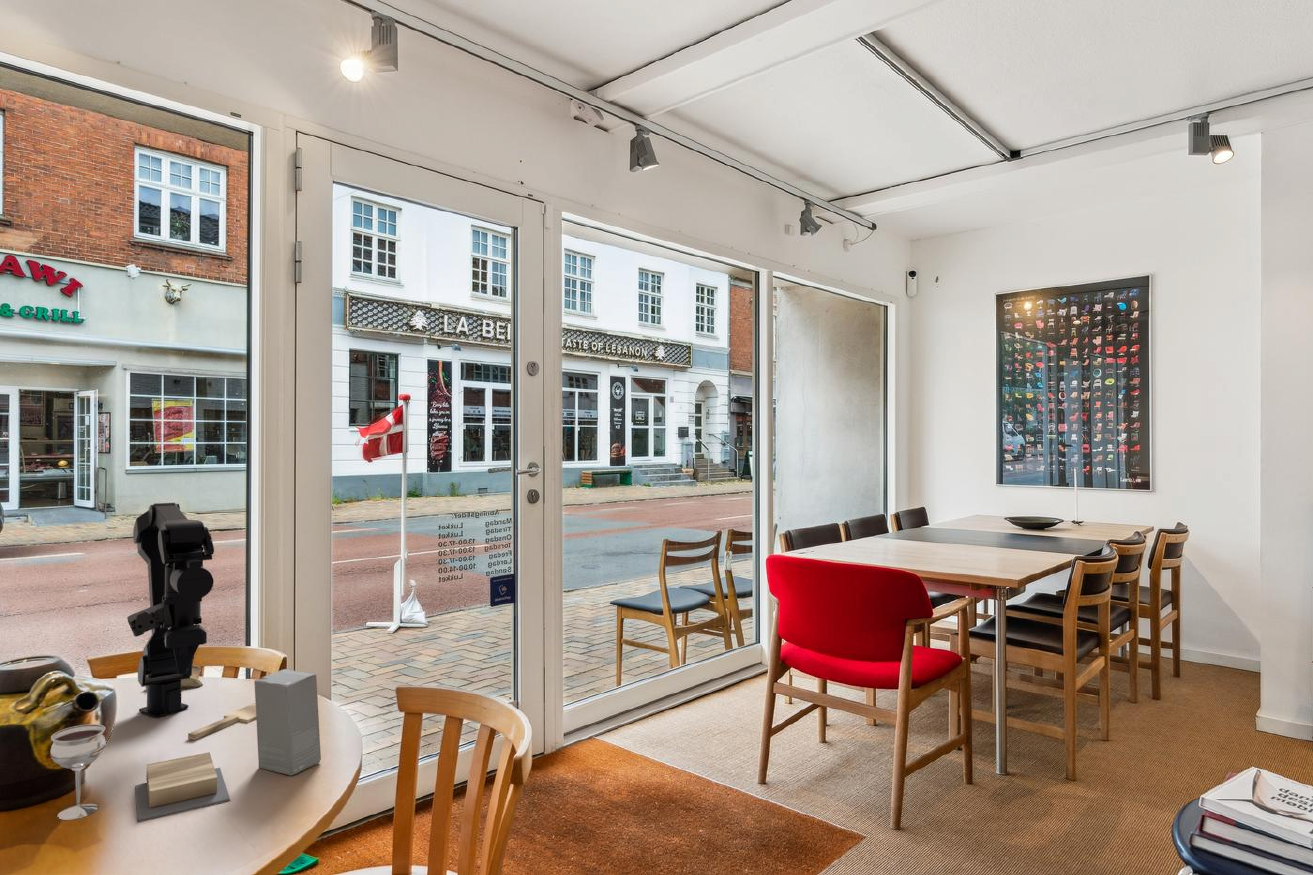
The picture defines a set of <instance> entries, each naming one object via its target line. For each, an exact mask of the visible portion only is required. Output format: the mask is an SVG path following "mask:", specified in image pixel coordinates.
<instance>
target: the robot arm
mask: <svg viewBox="0 0 1313 875" xmlns="http://www.w3.org/2000/svg"><path fill="white" fill-rule="evenodd" d="M132 535H133V538H132V539H133V544H136V547H137V548H136V549H137V553H138V555H139V556H140V557H141V559H142V560H143V561H144V562H145V563H146V564H147V574H148V575H147V576H148V578H147V580H148V594H149V607H147V608H144V609H142V610H140V611H137V612H135V613H132V614H130V615H128V616H127V617H126V618H127V623H128V625H129V627H130V630H131V631H132V634H133V636H134V637H136V638H137V637H140V636H142V635H144V634H145V633H147V632H149V631H151V635H150V637H149V638H148V641H147V642H146V643H145V645H144V647H143V650H142V651H143V652H142V653H143V655H141V656H140V659H139V664H138V667H137V668H138V669H137V682H138V683H139V685H140V687H141V688H142V687H145V686H147V690H146V706H144V707H141V708H139V709H138V712H139V713H142V714H145V715H147V716H150V717H153V718H161V717H164V716H167V715H169V714H173V713H177V712H179V711H180V712H181V711H182V710H186V709H189V705H188V704H186V703H183V702H182V687H181V680H182V679H190V676H192V665H194V659H195V655H196V652H197V650H198V648H199V647H200V646H202V645H206V644H208V643H207V641H208V639H207V638H208V636H207V635H208V634H207V630H206V629H205V628H204V626H202V625H200V624H202V621H203V620H202V618H203V617H202V615H201V607H202V606H201V604H202V603H201V602H202V601H203V598H205V596H207V595H208V594H209V593H210V592H211V591H212V589H213V587H214V582H215V580H214V578H213V575H212V573H211V572H210V571H209V570H207V569H206V568H205V567H204V561H209V560H210V561H212V560H213V555H214V552H215V548H214V542H213V539H212V534H211V532H210V531H209V528H208V527H207V526H205V524H204V522H202V520H199V519H188V518H187V516H186V515H185V514H184V513H183V512H182V510H181V507H180V503H176V502H159V503H153V504H149V507H148V510H147V511H146V512H144V513H143V514H141V515H139V516H138V517H136V519H135V522H134V525H133V532H132Z"/></svg>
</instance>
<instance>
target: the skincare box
mask: <svg viewBox="0 0 1313 875" xmlns="http://www.w3.org/2000/svg"><path fill="white" fill-rule="evenodd" d="M253 683H254V695H255V696H254V697H255V700H254V701H255V702H254V703H256V719H255V720H256V721H255V722H256V736H257V737H256V738H257V755H258V768H259V769H264V770H268V771H271V772H275V773H279V774H280V773H281V774H284V775H287V776H291V777H292V776H294V775H296V774H298V773H300V772H302V771H304V770H306V769H308V768H311V767H312V766H314V765H317V764H319V763H321V760H322V756H321V739H320V738H321V737H320V723H319V722H320V721H319V720H320V716H319V702H318V700H319V699H318V698H319V697H318V682H317V674H316V673H312V672H305V671H304V672H303V671H297V670H292V669H286V668H284V669H280V670H278V671H276V672H273V673H271V674H270V673H269V674H268V675H265V676H262V677H260V678H257V679H254V682H253Z"/></svg>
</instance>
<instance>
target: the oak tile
mask: <svg viewBox="0 0 1313 875" xmlns="http://www.w3.org/2000/svg"><path fill="white" fill-rule="evenodd" d="M145 775H146V779H145V780H146V783H147V789H148V798H149V807H150V808H151V807H155V806H160V805H164V804H169V803H173V802H178V801H182V800H187V799H191V798H196V797H200V796H205V795H209V794H214V793H217V774H216V771H215V765H214V763H213V758H212V755H211V753H210V752H202V753H199V754H198V753H197V754H194V755H189V756H183V757H178V758H174V759H173V758H172V759H167V760H162V761H158V762H152V763H147V764H146V774H145Z"/></svg>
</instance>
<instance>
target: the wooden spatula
mask: <svg viewBox="0 0 1313 875" xmlns="http://www.w3.org/2000/svg"><path fill="white" fill-rule="evenodd" d="M255 720H256V702H254V703H252V704H249V705H246V706H244V707H242V708H240V709H237V710H235V711H232V712H230V713H226V714H224V715H223V719H219V720H217V721H215V722H212V723H211V724H208V725H205V726H203V727H201V728H199V729H196V730H193V731H191V732H188V733H187V739H188V740H192V741H197V740H198V739H201V738H203V737H205V736H208V735H210V734H214V733H215V732H218V731H220V730H221V729H224V728H227V727H229V726H231V725H234V724H236V723H238V722H239V723H246V724H249V723H251V722H253V721H255Z"/></svg>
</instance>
